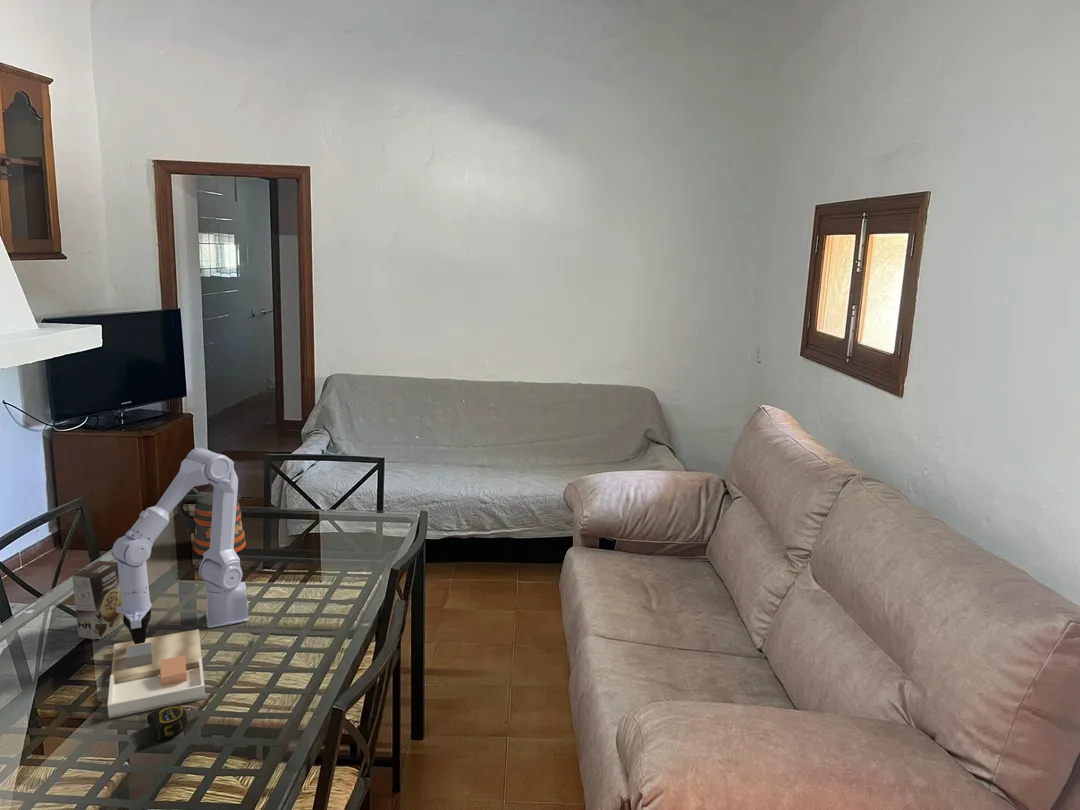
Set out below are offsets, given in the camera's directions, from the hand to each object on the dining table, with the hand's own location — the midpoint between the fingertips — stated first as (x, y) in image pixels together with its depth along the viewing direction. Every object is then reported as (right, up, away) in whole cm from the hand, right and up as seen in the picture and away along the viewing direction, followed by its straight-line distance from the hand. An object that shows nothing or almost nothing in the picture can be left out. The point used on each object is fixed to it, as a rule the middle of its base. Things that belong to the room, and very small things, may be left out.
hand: (139, 642), depth 184 cm
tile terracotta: (+12, -4, -9) cm, 15 cm away
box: (+10, -7, -13) cm, 18 cm away
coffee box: (-14, 0, +11) cm, 18 cm away
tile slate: (+2, -3, -5) cm, 6 cm away
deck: (+5, -4, -1) cm, 6 cm away
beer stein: (-7, +11, +58) cm, 60 cm away
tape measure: (+18, -10, -25) cm, 33 cm away
